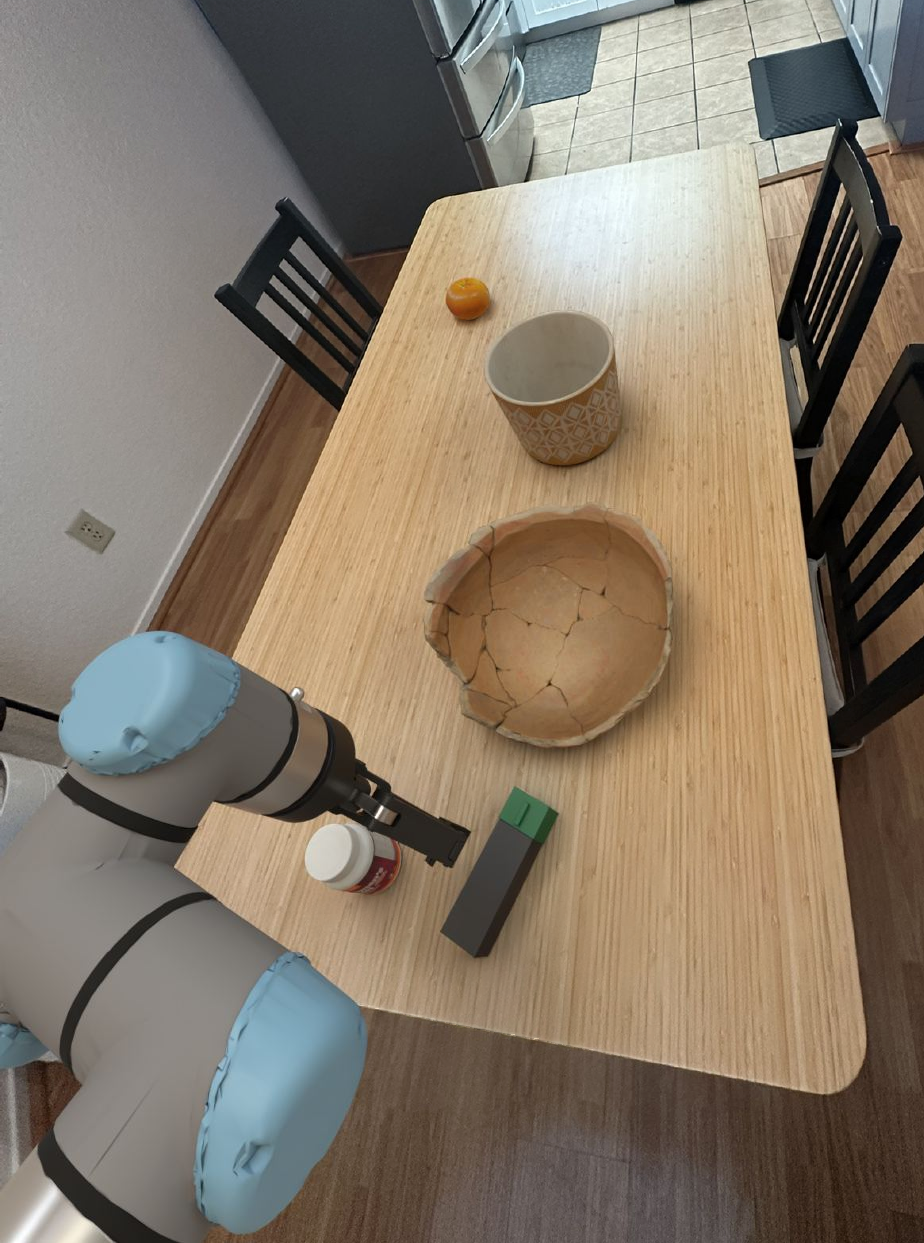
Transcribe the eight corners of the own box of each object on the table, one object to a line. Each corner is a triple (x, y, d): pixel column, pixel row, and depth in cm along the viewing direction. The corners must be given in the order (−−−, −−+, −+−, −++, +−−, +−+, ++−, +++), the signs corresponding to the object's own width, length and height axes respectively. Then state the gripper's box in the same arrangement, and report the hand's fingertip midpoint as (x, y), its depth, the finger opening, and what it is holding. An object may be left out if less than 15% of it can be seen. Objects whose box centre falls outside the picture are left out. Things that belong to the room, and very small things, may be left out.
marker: (488, 957, 66) (472, 958, 62) (454, 931, 68) (435, 930, 64) (559, 813, 72) (548, 805, 68) (525, 793, 74) (512, 784, 70)
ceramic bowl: (497, 805, 72) (447, 750, 62) (442, 629, 92) (397, 565, 82) (727, 679, 76) (713, 608, 66) (626, 535, 96) (604, 463, 86)
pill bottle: (365, 908, 71) (311, 903, 62) (344, 856, 75) (290, 845, 66) (412, 869, 72) (365, 858, 63) (389, 820, 76) (342, 804, 67)
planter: (562, 496, 98) (534, 427, 85) (492, 432, 109) (459, 362, 95) (654, 422, 102) (642, 346, 89) (579, 367, 113) (558, 292, 100)
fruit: (500, 282, 126) (467, 263, 121) (493, 321, 125) (460, 304, 119) (475, 293, 133) (442, 275, 127) (468, 331, 131) (435, 315, 125)
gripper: (448, 789, 42) (531, 834, 59) (211, 642, 53) (339, 716, 69) (380, 911, 39) (488, 922, 56) (142, 728, 49) (293, 784, 66)
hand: (405, 808), depth 63 cm, fingers open, 13 cm apart
